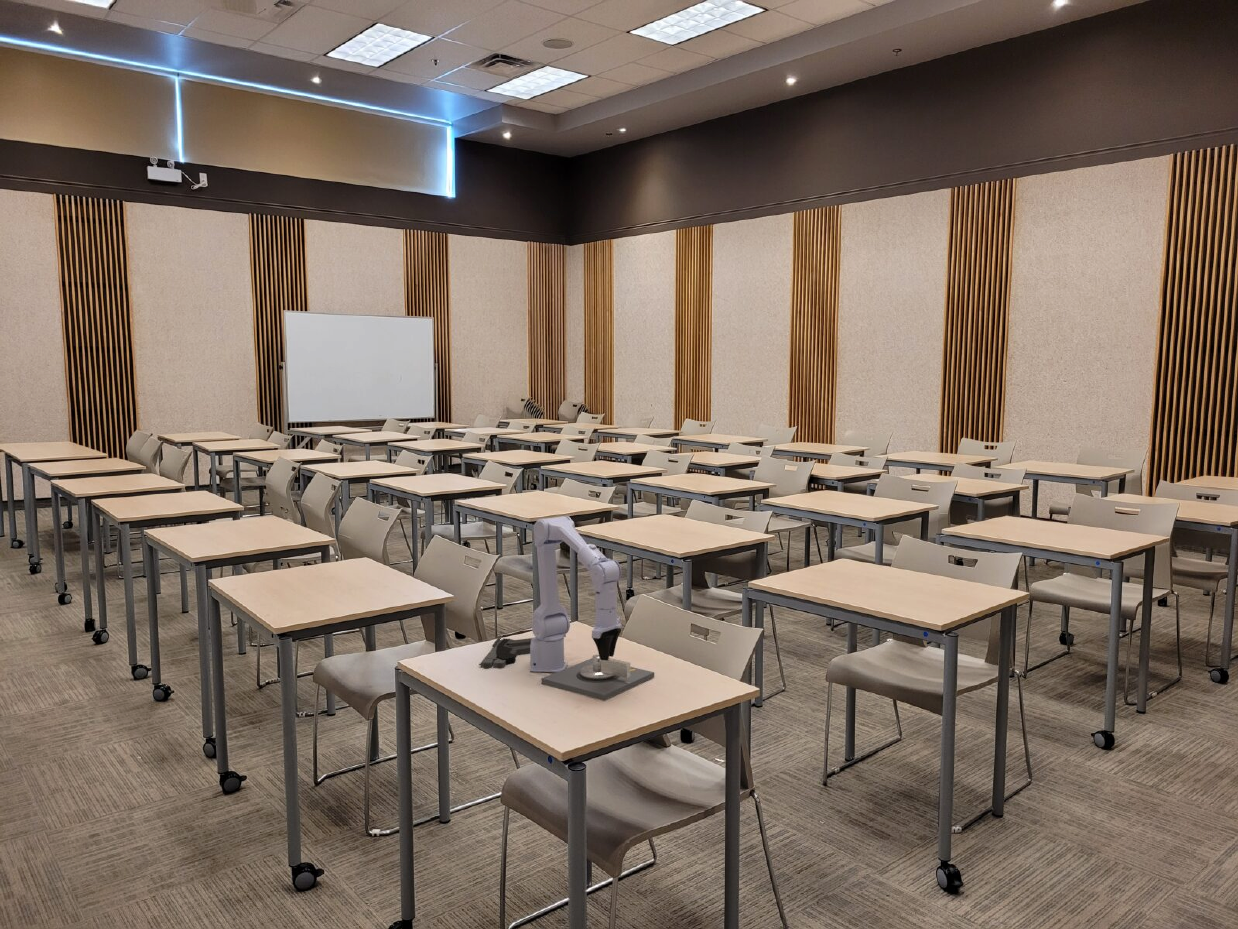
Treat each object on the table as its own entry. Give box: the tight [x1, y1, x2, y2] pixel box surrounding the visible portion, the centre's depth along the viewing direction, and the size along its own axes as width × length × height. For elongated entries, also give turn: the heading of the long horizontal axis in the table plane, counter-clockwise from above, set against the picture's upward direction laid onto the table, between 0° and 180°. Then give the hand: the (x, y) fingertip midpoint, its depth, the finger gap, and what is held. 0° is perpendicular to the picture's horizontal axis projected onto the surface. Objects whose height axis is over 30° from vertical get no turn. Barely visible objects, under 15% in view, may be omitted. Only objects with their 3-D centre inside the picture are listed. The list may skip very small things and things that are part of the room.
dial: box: [580, 654, 631, 680], centre depth 239 cm, size 16×10×5 cm, turn 52°
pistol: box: [478, 637, 533, 670], centre depth 264 cm, size 2×26×15 cm
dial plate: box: [540, 657, 655, 702], centre depth 241 cm, size 22×22×2 cm
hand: (606, 658), depth 231 cm, fingers open, 3 cm apart
